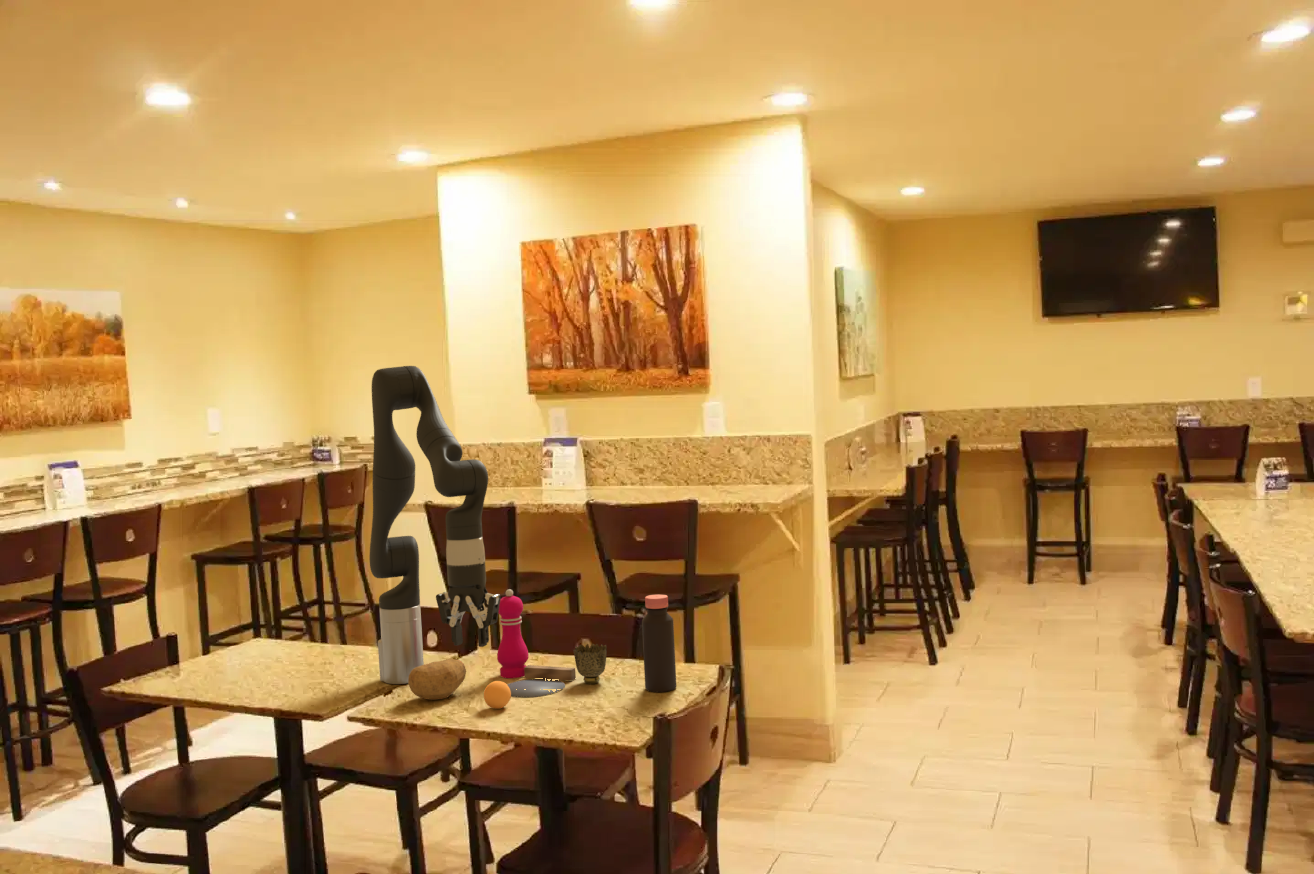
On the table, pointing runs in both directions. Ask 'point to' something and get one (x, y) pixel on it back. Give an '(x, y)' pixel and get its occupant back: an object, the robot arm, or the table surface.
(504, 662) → the pepper mill
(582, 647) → the cup
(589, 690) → the table surface
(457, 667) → the potato
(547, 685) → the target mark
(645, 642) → the bottle
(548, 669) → the strip
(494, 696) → the ball
